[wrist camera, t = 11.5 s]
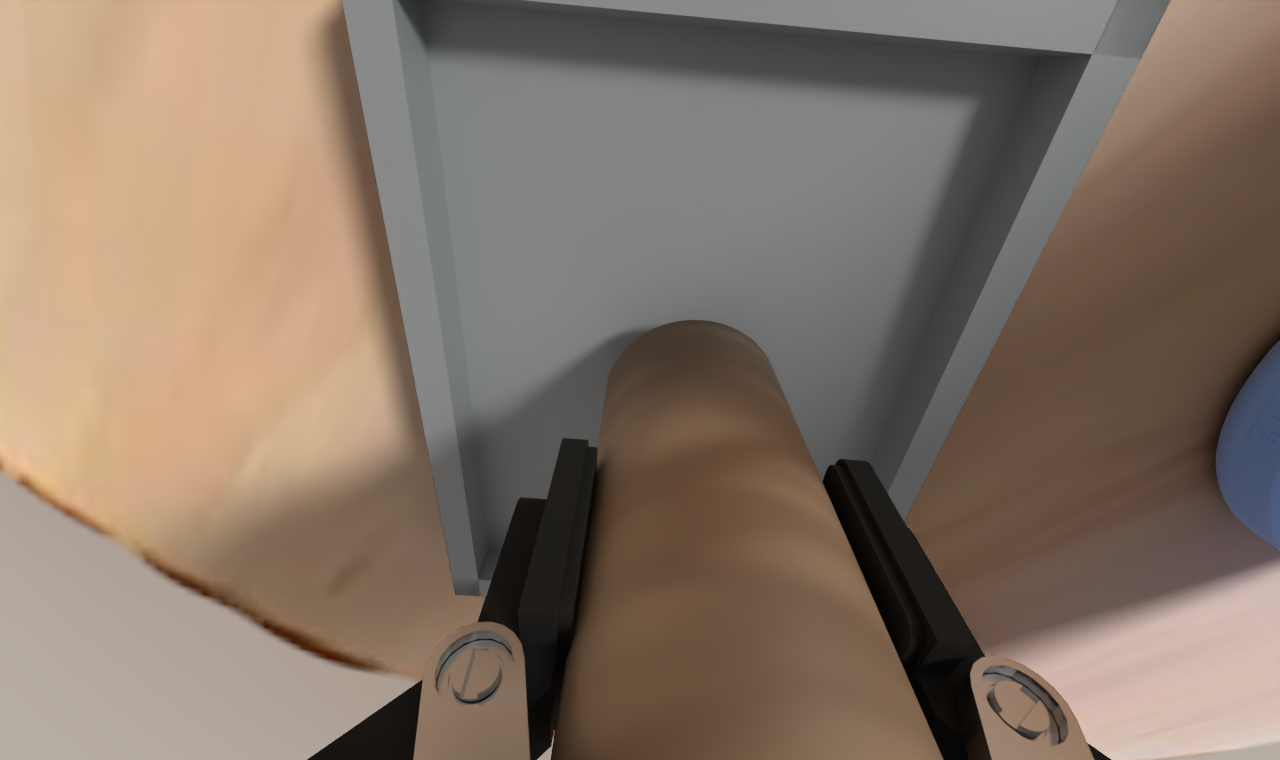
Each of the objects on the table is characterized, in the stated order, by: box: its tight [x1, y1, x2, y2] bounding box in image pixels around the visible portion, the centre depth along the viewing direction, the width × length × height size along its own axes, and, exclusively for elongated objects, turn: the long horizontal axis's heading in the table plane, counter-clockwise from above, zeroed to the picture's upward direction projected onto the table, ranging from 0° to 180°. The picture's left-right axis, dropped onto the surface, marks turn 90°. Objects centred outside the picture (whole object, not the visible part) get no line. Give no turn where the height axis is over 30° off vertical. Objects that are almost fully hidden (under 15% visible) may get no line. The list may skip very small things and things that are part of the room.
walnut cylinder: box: [551, 320, 943, 760], centre depth 10 cm, size 5×5×10 cm
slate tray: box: [342, 0, 1171, 597], centre depth 15 cm, size 16×20×2 cm
